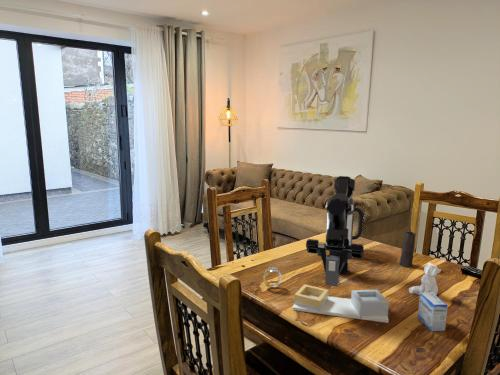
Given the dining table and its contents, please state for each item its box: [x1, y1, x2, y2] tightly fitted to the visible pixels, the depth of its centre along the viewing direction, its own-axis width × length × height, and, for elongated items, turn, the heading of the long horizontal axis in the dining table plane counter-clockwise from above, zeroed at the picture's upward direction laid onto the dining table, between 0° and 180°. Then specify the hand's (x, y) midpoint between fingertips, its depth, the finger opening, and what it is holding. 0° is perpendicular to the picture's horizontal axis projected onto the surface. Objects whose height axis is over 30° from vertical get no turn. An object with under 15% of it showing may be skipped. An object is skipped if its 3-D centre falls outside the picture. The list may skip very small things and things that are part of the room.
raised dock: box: [350, 289, 390, 320], centre depth 120 cm, size 9×9×6 cm
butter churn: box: [399, 201, 416, 268], centre depth 157 cm, size 9×10×28 cm
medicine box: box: [417, 293, 448, 332], centre depth 112 cm, size 8×4×9 cm, turn 5°
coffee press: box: [324, 194, 364, 245], centre depth 176 cm, size 17×16×30 cm
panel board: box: [292, 296, 389, 324], centre depth 123 cm, size 30×11×1 cm, turn 75°
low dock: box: [293, 283, 330, 315], centre depth 125 cm, size 9×9×4 cm
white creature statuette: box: [408, 262, 442, 296], centre depth 131 cm, size 10×9×12 cm
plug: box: [324, 254, 340, 288], centre depth 120 cm, size 5×4×9 cm
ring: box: [262, 266, 283, 288], centre depth 137 cm, size 7×3×8 cm, turn 89°
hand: (331, 272), depth 119 cm, fingers closed on plug, 4 cm apart
